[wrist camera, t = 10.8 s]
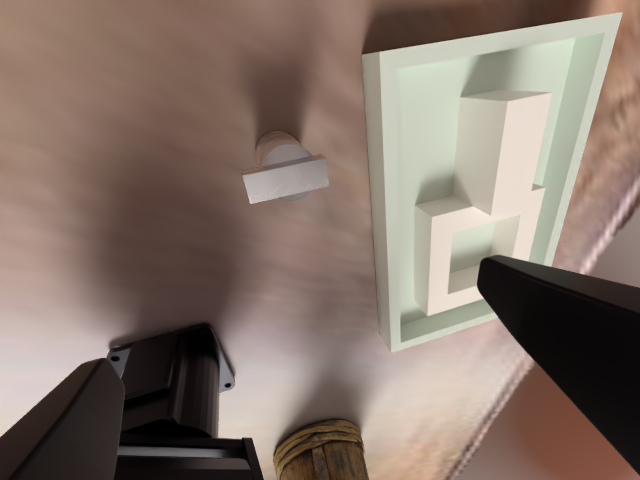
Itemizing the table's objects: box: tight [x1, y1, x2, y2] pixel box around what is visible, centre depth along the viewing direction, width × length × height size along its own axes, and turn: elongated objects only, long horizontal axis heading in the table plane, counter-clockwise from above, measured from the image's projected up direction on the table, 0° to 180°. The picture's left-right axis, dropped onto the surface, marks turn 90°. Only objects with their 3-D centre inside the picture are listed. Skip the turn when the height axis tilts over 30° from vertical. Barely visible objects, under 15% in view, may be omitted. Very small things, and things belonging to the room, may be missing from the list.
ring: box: [413, 90, 552, 316], centre depth 20 cm, size 14×8×4 cm, turn 8°
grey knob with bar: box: [242, 131, 329, 204], centre depth 15 cm, size 2×3×5 cm
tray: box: [361, 12, 623, 353], centre depth 21 cm, size 20×14×2 cm
